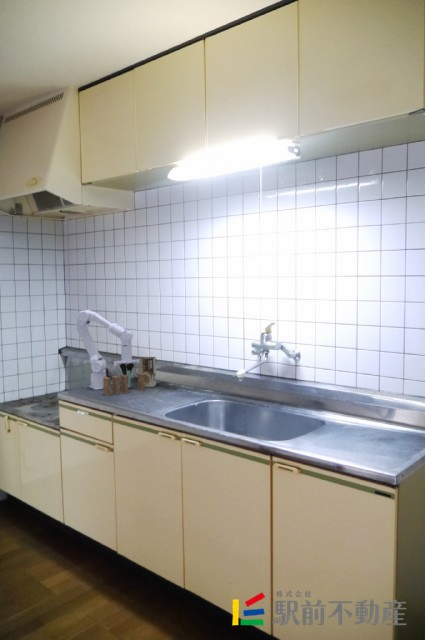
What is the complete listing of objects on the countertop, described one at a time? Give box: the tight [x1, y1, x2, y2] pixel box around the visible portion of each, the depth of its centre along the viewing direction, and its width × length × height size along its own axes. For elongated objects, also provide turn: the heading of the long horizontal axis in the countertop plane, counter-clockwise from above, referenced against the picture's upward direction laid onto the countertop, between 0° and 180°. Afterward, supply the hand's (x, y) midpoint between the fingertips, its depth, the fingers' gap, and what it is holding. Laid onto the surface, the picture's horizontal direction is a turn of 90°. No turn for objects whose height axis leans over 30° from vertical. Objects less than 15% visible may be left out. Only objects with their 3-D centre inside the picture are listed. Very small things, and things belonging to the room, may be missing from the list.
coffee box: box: [137, 356, 157, 388], centre depth 289 cm, size 9×6×16 cm
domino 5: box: [137, 373, 146, 392], centre depth 278 cm, size 2×5×9 cm, turn 34°
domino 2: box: [111, 375, 121, 395], centre depth 269 cm, size 2×5×9 cm, turn 34°
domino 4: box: [126, 370, 131, 388], centre depth 281 cm, size 2×5×9 cm, turn 34°
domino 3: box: [120, 374, 129, 394], centre depth 272 cm, size 2×5×9 cm, turn 34°
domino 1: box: [102, 376, 112, 396], centre depth 266 cm, size 2×5×9 cm, turn 34°
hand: (126, 377), depth 281 cm, fingers closed on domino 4, 2 cm apart
